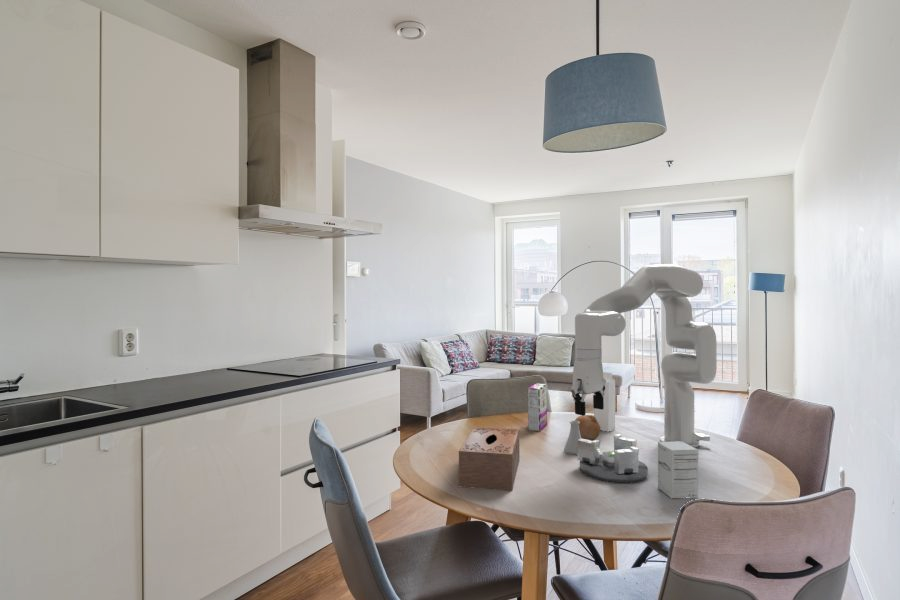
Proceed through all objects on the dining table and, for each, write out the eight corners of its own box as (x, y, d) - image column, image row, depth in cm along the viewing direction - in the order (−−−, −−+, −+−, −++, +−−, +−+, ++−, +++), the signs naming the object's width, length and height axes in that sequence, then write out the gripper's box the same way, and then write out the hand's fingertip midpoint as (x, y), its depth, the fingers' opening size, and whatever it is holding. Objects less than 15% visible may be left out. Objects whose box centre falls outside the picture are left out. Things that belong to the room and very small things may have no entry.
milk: (608, 432, 191) (608, 374, 191) (593, 429, 195) (593, 372, 195) (615, 429, 196) (615, 372, 195) (600, 426, 200) (600, 370, 199)
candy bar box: (535, 423, 204) (535, 383, 204) (547, 424, 202) (547, 383, 202) (527, 430, 194) (527, 387, 194) (540, 431, 192) (539, 388, 192)
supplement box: (656, 488, 136) (656, 441, 136) (683, 487, 137) (683, 440, 136) (671, 499, 129) (671, 449, 128) (699, 498, 129) (699, 449, 129)
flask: (586, 455, 163) (586, 425, 163) (563, 454, 165) (563, 423, 165) (585, 449, 171) (585, 419, 170) (563, 448, 172) (563, 418, 172)
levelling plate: (645, 464, 155) (645, 446, 155) (650, 486, 137) (650, 466, 137) (581, 458, 161) (581, 441, 161) (577, 479, 143) (577, 459, 143)
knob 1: (631, 462, 150) (631, 440, 150) (612, 457, 155) (612, 435, 155) (637, 459, 153) (637, 437, 152) (618, 454, 157) (618, 433, 157)
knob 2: (613, 470, 143) (613, 447, 143) (632, 468, 144) (632, 445, 144) (620, 474, 140) (620, 451, 140) (639, 473, 141) (639, 449, 141)
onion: (597, 448, 181) (610, 425, 179) (580, 446, 175) (593, 421, 174) (580, 433, 188) (592, 410, 187) (563, 430, 183) (575, 406, 182)
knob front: (583, 457, 154) (583, 436, 154) (600, 462, 150) (600, 440, 150) (576, 460, 152) (576, 438, 152) (593, 465, 147) (593, 442, 147)
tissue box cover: (474, 457, 163) (474, 426, 163) (519, 460, 160) (519, 429, 160) (458, 487, 138) (458, 451, 138) (512, 491, 135) (512, 454, 134)
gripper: (593, 350, 159) (594, 404, 160) (560, 356, 148) (561, 415, 148) (615, 352, 154) (616, 408, 154) (583, 358, 142) (584, 419, 143)
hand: (589, 411), depth 151 cm, fingers open, 9 cm apart
